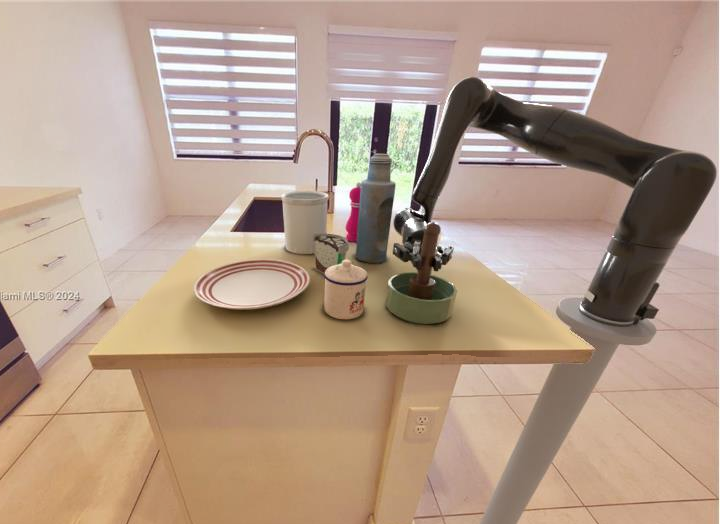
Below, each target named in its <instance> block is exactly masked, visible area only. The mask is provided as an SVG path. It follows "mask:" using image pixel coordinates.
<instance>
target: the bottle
mask: <svg viewBox="0 0 720 524" xmlns="http://www.w3.org/2000/svg"><path fill="white" fill-rule="evenodd" d="M392 159H393V158H391V156H390V154H386V153H373V155H372V156H371V157H370V159H369V168H368V172H367V176H366V179H364V180H361V182H360V183H361V192H360V205H359V217H358V230H357V242H355V243H356V244H355V257H356V259H357V260H359V261H361V262H365V263H370V264H371V263H375V264H376V263H381V262H385V260H386V259H387V256H388V255H387V253H388V246H389V238H390V231H391V223H392V217H393V207H394V202H395V201H394V200H395V194H396V187H397V186H396V185H397V184H396V182H395V181H393V180H391V177H392V176H391V175H392V173H391V168H392V163H393V160H392Z"/></svg>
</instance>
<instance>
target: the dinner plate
mask: <svg viewBox="0 0 720 524" xmlns="http://www.w3.org/2000/svg"><path fill="white" fill-rule="evenodd" d="M310 282H311V277H310V274H309V272H308V271H307V270H306V269H305V268H304V267H302V266H300V265H298V264H296V263H294V262H290V261H287V260H281V259H273V258H272V259H271V258H257V259H256V258H255V259H246V260H239V261H233V262H231V263H226V264H222V265H220V266H217V267H215V268H212V269H210V270H208V271H206V272H205V273H203V274H202V275H200V277H199V278H198V279H196V281H195V283H194V285H193V294H194V295H195V297H196V298H197V299H198V300H200V301H201V302H203V303H205V304H207V305H210V306H214V307H216V308H221V309H222V308H223V309H229V310H259V309H264V308H270V307H273V306H278V305H280V304H284V303H286V302H288V301H290V300H293V299H294V298H296V297H298V296H299V295H300V294H301V293H303V292H304V291H306V289H307V288H308V286H309V284H310Z"/></svg>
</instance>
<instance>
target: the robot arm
mask: <svg viewBox="0 0 720 524" xmlns="http://www.w3.org/2000/svg"><path fill="white" fill-rule="evenodd" d="M468 128H474V129H479V130H482V131H485V132H490V133H493V134H495V135H499V136H501V137H503V138H505V139H506V140H508V141H509V142H511V143H513V144H514V145H516V146H518V147H519V148H521V149H523V150H525V151H527V152H529V153H531V154H532V155H535V156H538V157H539V158H542V159H545V160H547V161H550V162H552V163H555V164H558V165H561V166H564V167H568V168H571V169H576V170H581V171H585V172H588V173H589V172H590V173H595V174H599V175H602V176H605V177H608V178H609V179H610V178H611V179H612V180H615V181H617V182H619V183H621V184H623V185H625V186H627V187H629V188H631V189H633V190H632V191H631V194H630V196H629V198H628V200H627V203H626V205H625V207H624V210H623V211H622V214H621V216H620V217H619V219H618V223H617V224H616V227H615V230H614V232H613V234H612V237H611V239H610V241H609V243H608V246H607V247H606V250H605V251H604V254H603V256H602V258H601V261H600V262H599V265H598V266H597V269H596V271H595V273H594V275H593V277H592V280H591V282H590V284H589V286H588V288H587V289H586V291H585V292H584V295H583V298H584V299H583V301H582V303H581V304H580V306H579V311H580V312H581V313H582V314H583V315H585V316H586V317H588V318H590V319H593V320H595V321H598V322H600V323H604V324H607V325H612V326H619V327H627V326H631V325H632V324H634V325H637V324H638V322H639V320H641V321H642V320H643V319H645V318H646V319H648V320H654V319H655V318H656V316H657V314H658V312H659V311H660V309H659V308H657V307H656V306H654V305H653V304H651V302H652V300H653V298H654V296H655V295H656V293H657V291H658V290H659V288H660V286H661V285H660V283H659V282H657V281H658V279H659V277H660V276H661V274H662V272H663V270H664V269H665V267H666V265H667V263H668V261H669V260H670V258H671V256H672V254H673V253H674V251H675V249H676V247H677V246H678V244H679V242H680V241H681V239H682V238H683V236H684V235H685V234H686V232H687V231H688V230H689V228H690V226H691V224H692V222H693V221H694V219H695V217H696V216H697V215H698V213H699V211H700V209H701V208H702V206H703V204H704V202H705V201H706V199H707V197H708V196H709V194H710V192H711V191H712V189H713V186H714V185H715V183H716V180H717V175H718V171H717V170H718V169H717V166H716V164H715V163H714V161H713V159H711V158H710V157H709V156H707V155H706V154H703V153H700V152H698V151H692V150H685V149H684V150H683V149H678V148H673V147H669V146H664V145H661V144H656V143H652V142H649V141H644V140H642V139H638V138H635V137H633V136H630V135H628V134H626V133H625V132H622V131H621V130H619V129H617V128H615V127H612V126H611V125H608V124H606V123H604V122H602V121H600V120H597V119H595V118H592V117H590V116H588V115H585V114H582V113H579V112H576V111H573V110H570V109H567V108H562V107H559V106H554V105H548V104H539V103H529V102H523V101H520V100H518V99H515V98H512V97H509V96H508V95H505V94H504V93H502V92H500V91H498V90H496V89H494V88H493V87H491V85H489V84H488V83H487V82H485V81H484V80H482V79H481V78H479V77H476V76H468V77H465V78H463V79H461V80H460V81H458V82H457V83H456V84H455V85H454V86H453V88H452V89H451V90H450V92H449V95H448V97H447V99H446V102H445V105H444V108H443V111H442V116H441V119H440V122H439V125H438V128H437V131H436V134H435V138H434V141H433V144H432V147H431V150H430V153H429V155H428V157H427V161H426V163H425V165H424V167H423V170H422V172H421V174H420V176H419V178H418V181H417V183H416V184H415V187H414V189H413V191H412V193H411V200H412V201H413V202H414V203H416V204H417V205H419V206H421V207H422V209H423V212H419V211H417V210H414V209H412V208H408V207H403V208H401V209H398V211H397V212H396V213H395V215H394V217H393V223H392V225H393V229H394V230H395V232H396V233H397V234H398V235H399V236H400V237H401V238H402V239H401V243H402V244H400V243H398V242H393V246H392V255H394V256H395V257H396V258H397V259H399V260H400V261H402V262H403V263H409V262H410V263H411V264H412V267H413V268H415V269H416V270H417V271H418V270H421V265H422V258H421V256H420V254H421V248H422V243H423V237H424V227H425V226H426V225H427V224H428V223H430V222H432V219H433V215H434V210H435V208H436V204H437V202H438V200H439V198H440V196H441V194H442V191H443V190H444V188H445V186H446V184H447V182H448V180H449V176H450V173H451V170H452V166H453V163H454V158H455V154H456V151H457V148H458V146H459V144H460V142H461V140H462V138H463V136H464V134H465V133H466V130H467V129H468ZM454 249H455V247H454V246H452V245H451V246H447V247H445V248H442V245H441V244H439V243H438V242H437V246H436V251H435V256H434V261H433V266H432V270H433V272H439V270H441V269H442V266H446V265H447V264H448V263H449V262H450V261H451V260H452V258H453V253H454Z"/></svg>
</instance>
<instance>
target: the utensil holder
mask: <svg viewBox="0 0 720 524" xmlns="http://www.w3.org/2000/svg"><path fill="white" fill-rule="evenodd" d="M329 197H330V196H329V194H328V193H327V192H323V191H318V190H292V191H285V192H283V193H282V194H281V201H282V215H283V230H284V242H285V249H286V250H287V251H288V252H290V253H292V254H296V255H313V254H314V255H315V248H314V241H313V237H314V234H328V202H329Z"/></svg>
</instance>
